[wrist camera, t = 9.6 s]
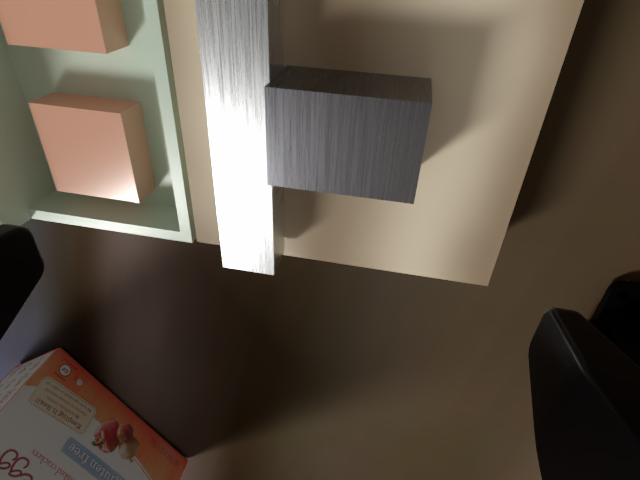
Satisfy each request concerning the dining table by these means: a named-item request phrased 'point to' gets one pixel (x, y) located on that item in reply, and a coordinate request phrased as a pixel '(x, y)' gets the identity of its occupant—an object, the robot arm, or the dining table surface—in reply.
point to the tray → (106, 82)
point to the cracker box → (75, 428)
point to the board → (442, 135)
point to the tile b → (95, 145)
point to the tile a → (65, 24)
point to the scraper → (296, 129)
